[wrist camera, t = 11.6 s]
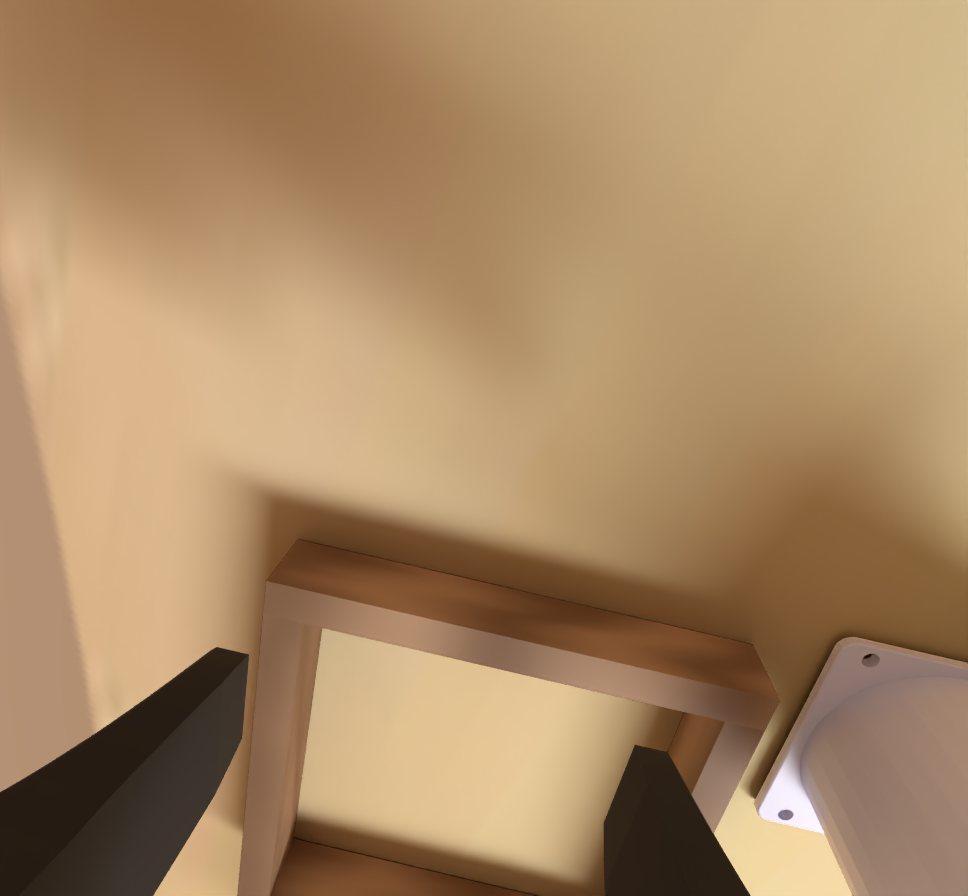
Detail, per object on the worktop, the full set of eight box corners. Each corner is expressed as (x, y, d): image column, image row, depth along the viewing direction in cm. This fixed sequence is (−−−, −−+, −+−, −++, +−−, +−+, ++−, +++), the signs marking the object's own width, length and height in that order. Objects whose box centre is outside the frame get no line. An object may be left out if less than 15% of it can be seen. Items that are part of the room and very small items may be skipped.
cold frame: (752, 644, 20) (779, 700, 18) (619, 935, 26) (627, 1007, 24) (297, 539, 20) (266, 581, 18) (263, 851, 26) (235, 913, 24)
